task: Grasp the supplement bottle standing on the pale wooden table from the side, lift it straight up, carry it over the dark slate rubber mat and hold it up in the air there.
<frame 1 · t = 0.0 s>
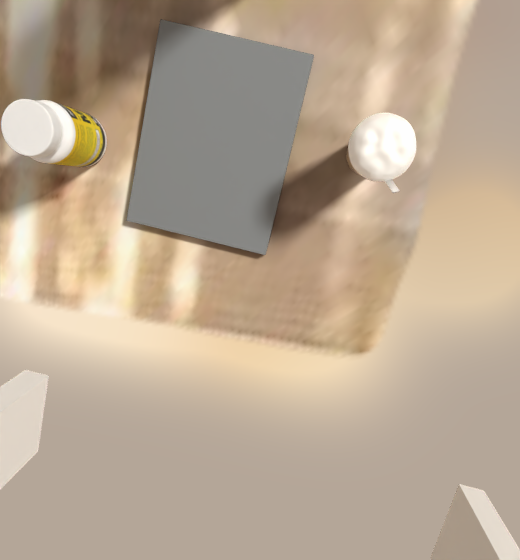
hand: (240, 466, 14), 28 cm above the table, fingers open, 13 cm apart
milkshake: (365, 160, 39), on the table
supplement bottle: (83, 140, 40), on the table
slate mat: (216, 143, 39), on the table
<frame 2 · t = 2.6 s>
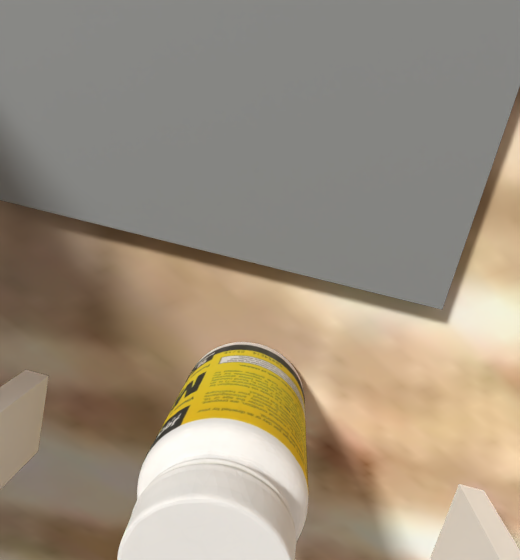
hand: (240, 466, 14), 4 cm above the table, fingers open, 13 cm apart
supplement bottle: (245, 392, 18), on the table
slate mat: (252, 65, 15), on the table
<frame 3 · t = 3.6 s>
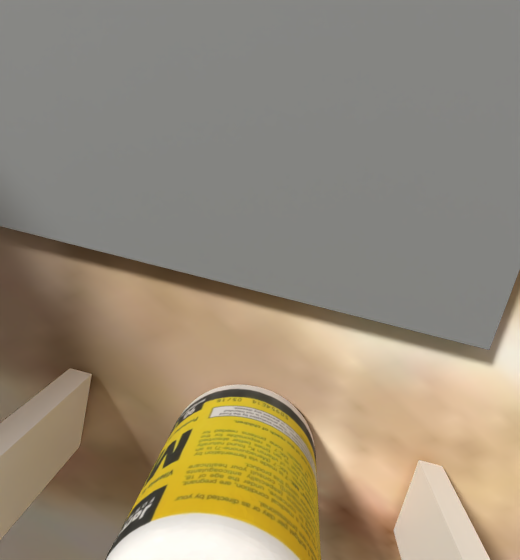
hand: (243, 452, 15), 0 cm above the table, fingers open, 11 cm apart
supplement bottle: (244, 443, 15), on the table
slate mat: (252, 44, 12), on the table
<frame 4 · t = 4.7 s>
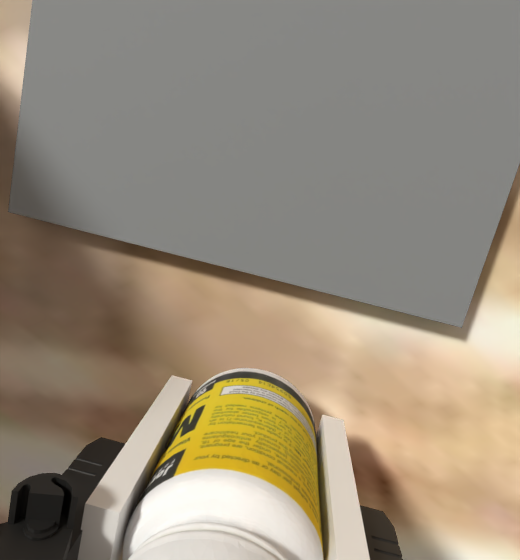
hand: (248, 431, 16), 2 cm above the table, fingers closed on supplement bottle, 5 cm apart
supplement bottle: (249, 423, 16), point 2 cm above the table, touching gripper
slate mat: (273, 86, 15), on the table
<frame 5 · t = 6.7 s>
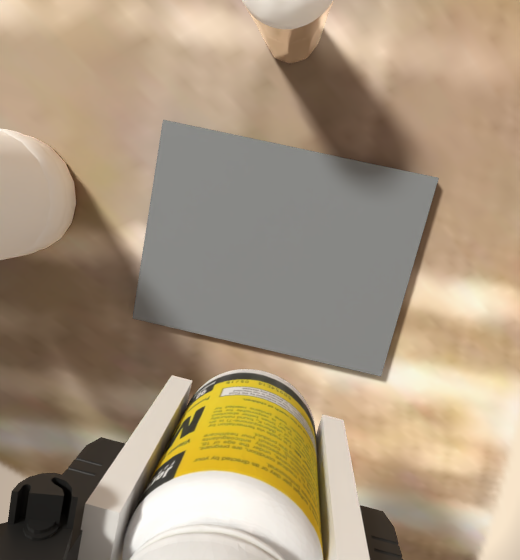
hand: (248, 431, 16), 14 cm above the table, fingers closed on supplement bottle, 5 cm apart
milkshake: (298, 33, 26), on the table
supplement bottle: (249, 424, 16), point 14 cm above the table, touching gripper
bottle: (23, 194, 30), on the table
slate mat: (276, 250, 29), on the table
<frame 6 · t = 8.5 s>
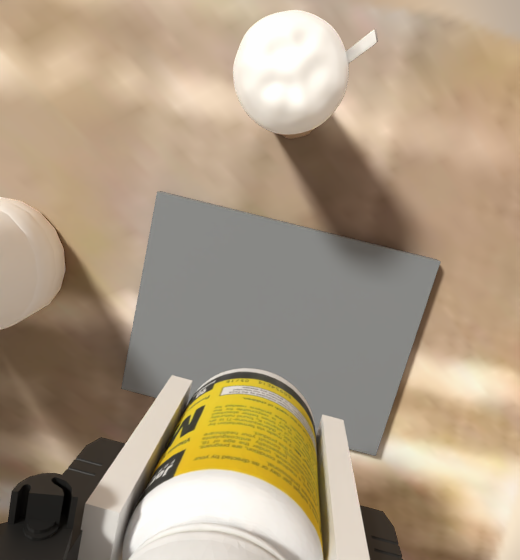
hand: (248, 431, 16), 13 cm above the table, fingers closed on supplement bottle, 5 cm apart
milkshake: (300, 108, 26), on the table
supplement bottle: (249, 423, 16), point 12 cm above the table, touching gripper
bottle: (11, 257, 29), on the table
slate mat: (271, 325, 28), on the table
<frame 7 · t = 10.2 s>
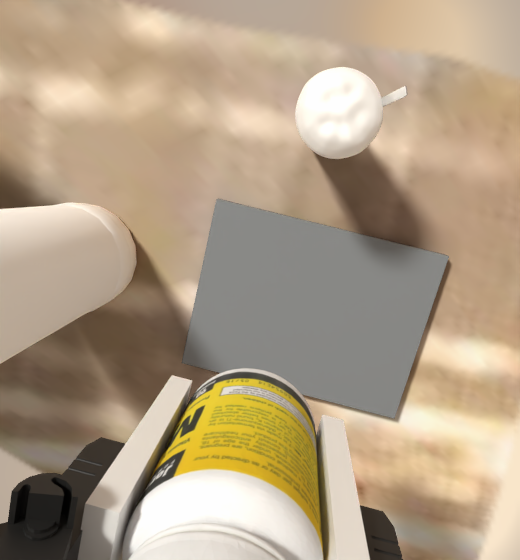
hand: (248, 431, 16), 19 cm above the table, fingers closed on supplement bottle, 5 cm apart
milkshake: (334, 131, 31), on the table
supplement bottle: (249, 423, 16), point 18 cm above the table, touching gripper
bottle: (90, 253, 35), on the table
slate mat: (308, 309, 34), on the table
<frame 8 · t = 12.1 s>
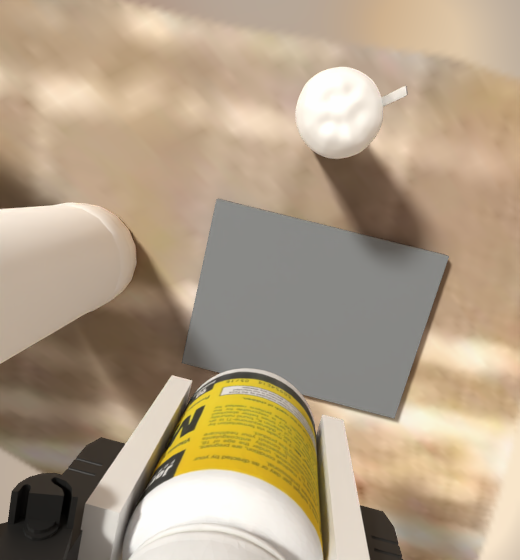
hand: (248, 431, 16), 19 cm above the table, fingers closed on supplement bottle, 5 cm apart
milkshake: (334, 131, 31), on the table
supplement bottle: (249, 423, 16), point 18 cm above the table, touching gripper
bottle: (90, 253, 35), on the table
slate mat: (308, 309, 34), on the table
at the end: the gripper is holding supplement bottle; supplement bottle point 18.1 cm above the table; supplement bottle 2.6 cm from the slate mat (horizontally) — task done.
